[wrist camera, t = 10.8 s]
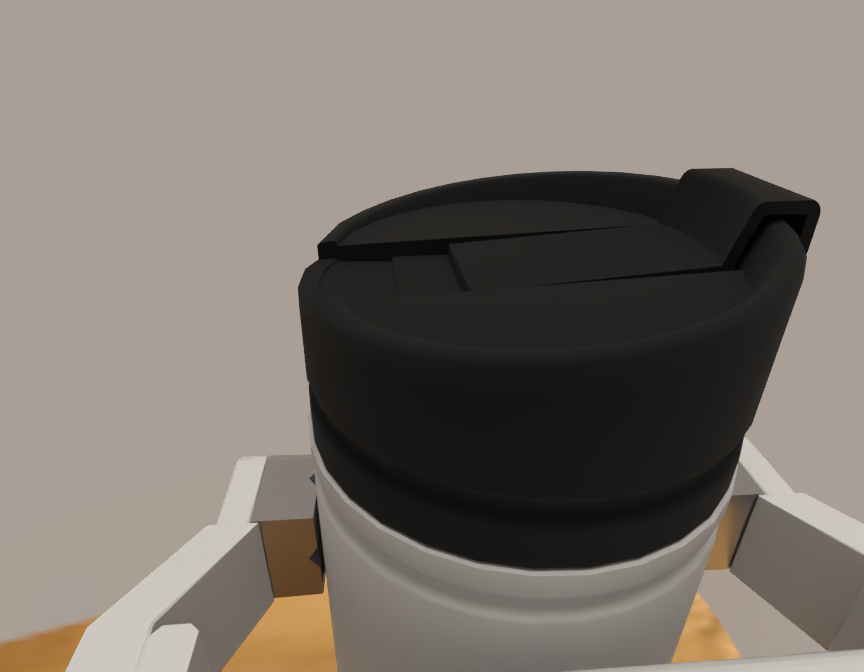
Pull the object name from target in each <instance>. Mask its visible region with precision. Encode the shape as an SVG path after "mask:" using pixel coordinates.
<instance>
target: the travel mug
mask: <svg viewBox="0 0 864 672" xmlns="http://www.w3.org/2000/svg"><path fill="white" fill-rule="evenodd" d="M820 210H821V209H820V206H819V204H818V203H817V202H816V201H815V200H813V199H810V198H808V197H805V196H802V195H800V194H797V193H795V192H792V191H790V190H787V189H784V188H782V187H779V186H777V185H774V184H772V183H769V182H766V181H764V180H761V179H759V178H756V177H754V176H751V175H749V174H746V173H744V172H741V171H738V170H736V169H734V168H716V169H715V168H714V169H690V170H688V171H686V172H685V173H684V174H683V176H682V177H681V179H680V180H679V179H673V178H667V177H660V176H653V175H643V174H633V173H623V172H597V171H561V172H559V171H558V172H537V173H522V174H512V175H503V176H495V177H486V178H480V179H474V180H469V181H462V182H457V183H451V184H447V185H443V186H438V187H434V188H430V189H425V190H421V191H417V192H414V193H411V194H408V195H405V196H401V197H398V198H395V199H391V200H389V201H386V202H384V203H381V204H379V205H376V206H374V207H371V208H369V209H366V210H364V211H362V212H360V213H358V214H356V215H354V216H352V217H350V218H348V219H346V220H345V221H343V222H341V223H339V224H338V225H337V226H336V227H335V228H334V229H333V230H332V231H331V232H330V233H329V234H328V235H327V236H326V237H325V238H324V239H323V240H322V241H321V242H320V243H319V244H318V246H317V247H318V256H319V260H317V261H316V262H314V263H313V264H312V265H310V266H309V267H307V268H306V269H305V271H304V274H303V276H302V278H301V281H300V284H299V286H298V295H299V308H300V317H301V326H302V336H303V345H304V354H305V364H306V373H307V380H308V382H309V395H310V405H311V406H310V407H311V410H310V414H309V429H310V443H311V451H312V460H313V465H314V471H315V483H316V494H317V502H318V510H319V519H320V527H321V535H322V544H323V552H324V561H325V569H326V577H327V586H328V594H329V602H330V611H331V619H332V627H333V636H334V644H335V652H336V661H337V669H338V672H562V671H576V670H589V669H603V668H616V667H630V666H643V665H656V664H670V663H671V661H672V658H673V655H674V652H675V650H676V647H677V644H678V641H679V639H680V636H681V633H682V630H683V628H684V625H685V622H686V619H687V617H688V614H689V611H690V608H691V606H692V603H693V600H694V597H695V595H696V592H697V589H698V586H699V584H700V581H701V578H702V575H703V573H704V570H705V567H706V565H707V562H708V559H709V556H710V554H711V551H712V548H713V545H714V543H715V539H716V535H717V530H718V526H719V522H720V521H721V519H722V518H723V516H724V515H725V512H726V510H727V507H728V504H729V501H730V499H731V496H732V492H733V488H734V483H735V478H736V474H737V469H738V461H739V458H740V454H741V449H742V445H743V440H744V435H745V433H746V431H747V430H748V429H749V427H750V426H751V425H752V422H753V419H754V417H755V414H756V411H757V408H758V405H759V402H760V400H761V397H762V394H763V391H764V388H765V385H766V382H767V380H768V377H769V374H770V371H771V369H772V366H773V363H774V360H775V357H776V354H777V352H778V349H779V346H780V343H781V340H782V337H783V335H784V332H785V329H786V326H787V323H788V321H789V318H790V315H791V312H792V310H793V307H794V304H795V301H796V299H797V296H798V293H799V290H800V288H801V285H802V282H803V278H804V272H805V265H806V259H807V256H806V254H807V252H808V249H809V246H810V243H811V239H812V237H813V234H814V231H815V228H816V225H817V222H818V219H819V216H820Z"/></svg>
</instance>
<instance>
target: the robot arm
mask: <svg viewBox="0 0 864 672" xmlns="http://www.w3.org/2000/svg"><path fill="white" fill-rule="evenodd" d="M715 569H730V572H731V573H732V574H733V575H735V576H736V577H737V578H739V579H740V580H741V581H742V582H743V583H745V584H746V585H747V586H748V587H750V588H751V589H752V590H753V591H754V592H756V593H757V594H758V595H759V596H761V597H762V598H763V599H764V600H766V601H767V602H768V603H769V604H771V605H772V606H773V607H774V608H775V609H777V610H778V611H779V612H780V613H782V614H783V615H784V616H785V617H787V618H788V619H789V620H790V621H791V622H793V623H794V624H795V625H796V626H798V627H799V628H800V629H801V630H803V631H804V632H805V633H806V634H807V635H809V636H810V637H811V638H812V639H814V640H815V641H816V642H817V643H819V644H820V645H821V646H822V647H823V648H825V649H826V650H827V652H815V653H801V654H789V655H775V656H762V657H749V658H735V659H722V660H709V661H696V662H683V663H670V664H656V665H643V666H630V667H616V668H603V669H589V670H576V671H562V672H864V524H863V523H860V522H859V521H856V520H855V519H853V518H851V517H849V516H847V515H845V514H843V513H841V512H839V511H837V510H835V509H833V508H831V507H830V506H828V505H825V504H824V503H822V502H820V501H818V500H816V499H814V498H812V497H810V496H808V495H806V494H804V493H795V492H794V491H793V490H792V489H791V488H790V487H789V486H788V484H787V483H786V482H785V481H784V480H783V479H782V478H781V477H780V475H779V474H778V473H777V472H776V471H775V470H774V469H773V467H772V466H771V465H770V464H769V463H768V462H767V461H766V459H765V458H764V457H763V456H762V455H761V454H760V453H759V451H758V450H757V449H756V448H755V447H754V446H753V445H752V444H751V442H750V441H749V440H748V439H747V438H746V437H745V436H744V440H743V445H742V449H741V454H740V458H739V461H738V469H737V474H736V478H735V483H734V488H733V492H732V496H731V499H730V501H729V504H728V507H727V510H726V512H725V515H724V516H723V518H722V519H721V521H720V522H719V526H718V530H717V535H716V539H715V543H714V545H713V548H712V551H711V554H710V556H709V559H708V562H707V565H706V567H705V570H715ZM325 573H326V569H325V561H324V552H323V544H322V535H321V527H320V519H319V510H318V502H317V494H316V483H315V471H314V465H313V460H312V455H280V456H269V457H268V456H259V457H241V458H240V459H239V460H238V462H237V463H236V466H235V469H234V472H233V475H232V478H231V481H230V484H229V487H228V490H227V493H226V496H225V499H224V502H223V505H222V508H221V511H220V514H219V517H218V520H217V523H216V525H207V526H206V527H205V528H204V529H203V530H201V531H200V532H199V533H198V534H197V535H195V536H194V537H193V538H192V539H191V540H190V541H189V542H187V543H186V544H185V545H184V546H182V547H181V548H180V549H179V550H178V551H177V552H175V553H174V554H173V555H172V556H171V557H170V558H168V559H167V560H166V561H165V562H164V563H162V564H161V565H160V566H159V567H158V568H157V569H155V570H154V571H153V572H152V573H151V574H150V575H149V576H147V577H146V578H145V579H144V580H142V581H141V582H140V583H139V584H138V585H137V586H135V587H134V588H133V589H132V590H131V591H130V592H129V593H127V594H126V595H125V596H124V597H122V598H121V599H120V600H119V601H118V602H117V603H115V604H114V605H113V606H112V607H111V608H109V609H108V610H107V611H106V612H105V613H104V614H102V615H101V616H100V617H99V618H98V619H97V620H95V621H94V622H93V623H92V624H91V625H89V626H88V627H87V629H86V631H85V633H84V635H83V637H82V639H81V641H80V643H79V645H78V647H77V649H76V651H75V653H74V655H73V657H72V659H71V661H70V663H69V665H68V667H67V669H66V672H221V671H222V669H223V668H224V667H225V665H226V664H227V663H228V661H229V660H230V659H231V657H232V656H233V655H234V653H235V652H236V651H237V649H238V648H239V647H240V645H241V644H242V643H243V641H244V640H245V639H246V637H247V636H248V635H249V634H250V632H251V631H252V630H253V628H254V627H255V626H256V624H257V623H258V622H259V620H260V619H261V618H262V616H263V615H264V614H265V612H266V611H267V610H268V608H269V607H270V606H271V604H272V603H273V602H274V598H280V597H291V596H302V595H312V594H323V591H324V582H325Z"/></svg>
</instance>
